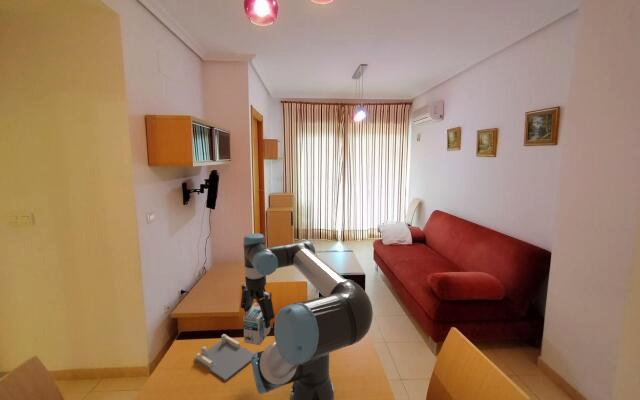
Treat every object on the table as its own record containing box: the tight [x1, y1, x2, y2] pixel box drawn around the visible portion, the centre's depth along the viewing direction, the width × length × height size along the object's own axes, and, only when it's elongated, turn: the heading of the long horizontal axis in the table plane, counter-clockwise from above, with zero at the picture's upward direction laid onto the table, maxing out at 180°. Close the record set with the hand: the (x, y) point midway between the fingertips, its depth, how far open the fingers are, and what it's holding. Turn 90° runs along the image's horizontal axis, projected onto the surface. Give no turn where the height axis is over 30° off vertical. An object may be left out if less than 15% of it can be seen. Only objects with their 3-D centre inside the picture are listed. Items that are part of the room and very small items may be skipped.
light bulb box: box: [242, 302, 272, 346], centre depth 114 cm, size 11×7×11 cm, turn 167°
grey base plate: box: [193, 333, 255, 382], centre depth 124 cm, size 20×16×5 cm
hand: (257, 330), depth 115 cm, fingers closed on light bulb box, 8 cm apart
